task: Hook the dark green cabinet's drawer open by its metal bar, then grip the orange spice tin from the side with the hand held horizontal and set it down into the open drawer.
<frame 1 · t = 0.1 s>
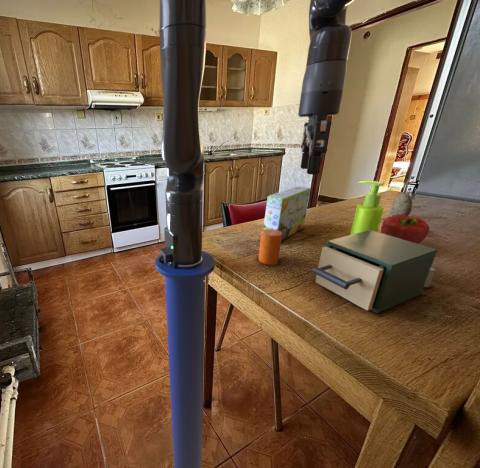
hand: (308, 171, 58), 25 cm above the table, tool pointing down, fingers open, 8 cm apart
decorative egg: (397, 219, 100), on the table
lighter: (411, 279, 61), on the table
cabinet: (367, 287, 58), on the table
snack box: (284, 234, 89), on the table
soap dispenser: (356, 249, 76), on the table
spice tin: (268, 260, 71), on the table
drawer: (357, 272, 54), point 5 cm above the table, slide at 1.0 cm
vegetable: (398, 246, 77), on the table
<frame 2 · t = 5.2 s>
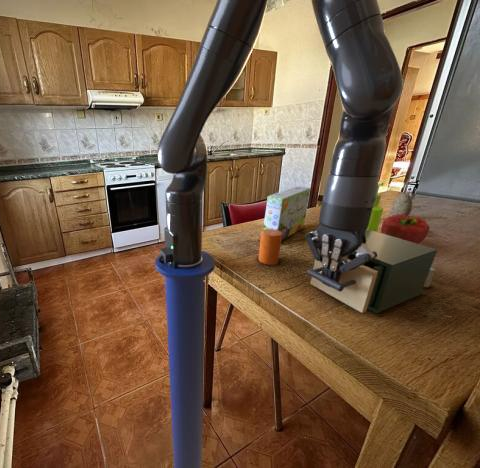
hand: (328, 284, 51), 5 cm above the table, tool pointing down, fingers closed
drawer: (352, 274, 53), point 5 cm above the table, slide at 2.6 cm
everything else where it was.
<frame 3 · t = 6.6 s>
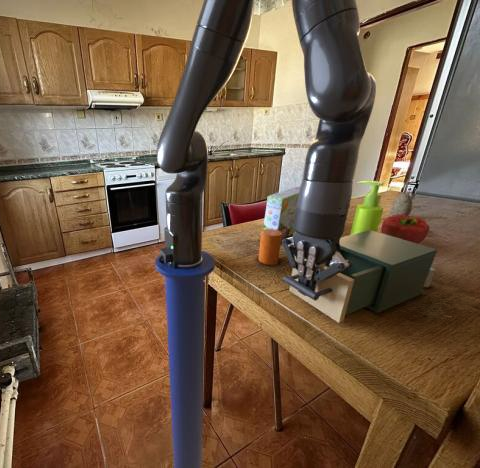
hand: (305, 292, 49), 4 cm above the table, tool pointing down, fingers closed
drawer: (330, 281, 51), point 5 cm above the table, slide at 9.0 cm, touching gripper
everything else where it was.
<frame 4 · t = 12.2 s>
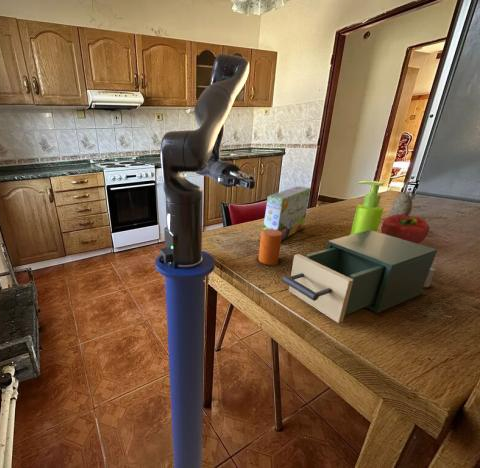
hand: (252, 185, 72), 20 cm above the table, tool horizontal, fingers closed
drawer: (330, 281, 51), point 5 cm above the table, slide at 9.1 cm
everything else where it was.
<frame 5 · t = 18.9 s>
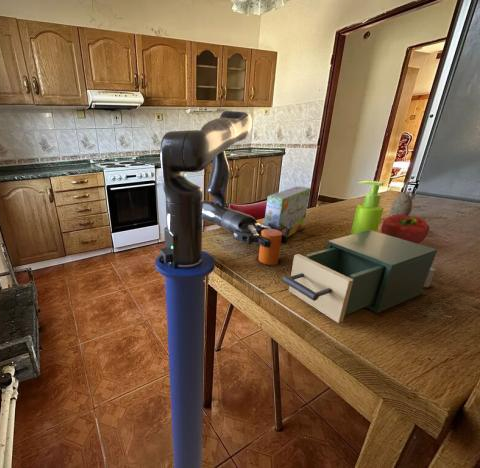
hand: (278, 242, 67), 7 cm above the table, tool horizontal, fingers closed on spice tin, 5 cm apart
spice tin: (268, 260, 71), on the table, touching gripper
everything else where it was.
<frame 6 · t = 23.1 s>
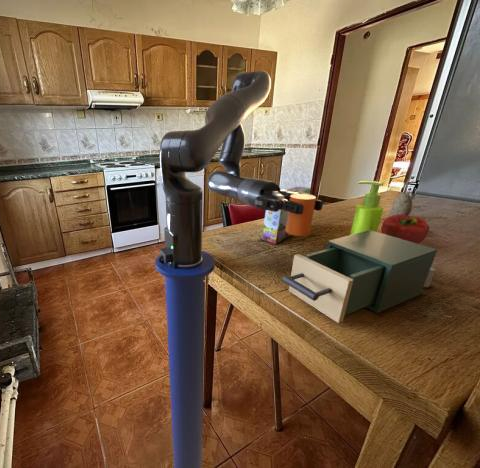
hand: (311, 207, 55), 18 cm above the table, tool horizontal, fingers closed on spice tin, 5 cm apart
spice tin: (297, 232, 60), point 11 cm above the table, touching gripper
everything else where it was.
when the fingers open (12 cm above the table, at t = 27.3 s): spice tin drops 3 cm, resting on drawer.
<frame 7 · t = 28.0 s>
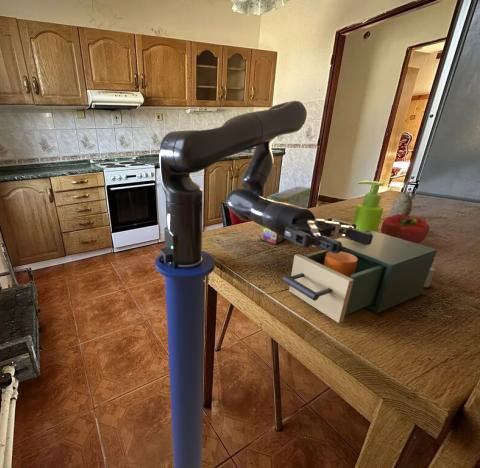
hand: (355, 244, 47), 14 cm above the table, tool horizontal, fingers open, 8 cm apart
spice tin: (332, 293, 53), point 2 cm above the table, touching drawer
drawer: (330, 281, 51), point 5 cm above the table, slide at 9.1 cm, touching spice tin
everything else where it was.
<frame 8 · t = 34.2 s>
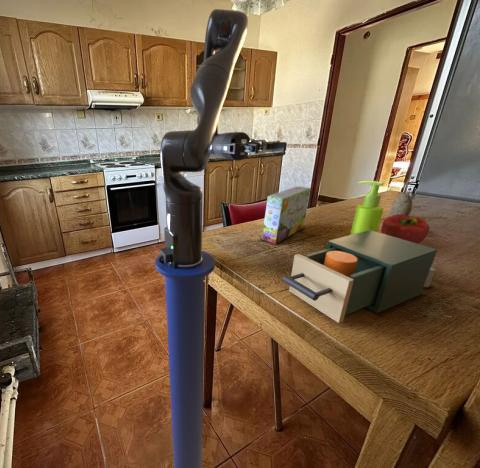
hand: (271, 147, 61), 30 cm above the table, tool horizontal, fingers open, 8 cm apart
nothing on the table moved.
at the end: drawer slide at 9.1 cm; spice tin inside the target area in the drawer (2.8 cm from its centre), point 2.0 cm above the cabinet's base; the gripper is holding nothing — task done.
